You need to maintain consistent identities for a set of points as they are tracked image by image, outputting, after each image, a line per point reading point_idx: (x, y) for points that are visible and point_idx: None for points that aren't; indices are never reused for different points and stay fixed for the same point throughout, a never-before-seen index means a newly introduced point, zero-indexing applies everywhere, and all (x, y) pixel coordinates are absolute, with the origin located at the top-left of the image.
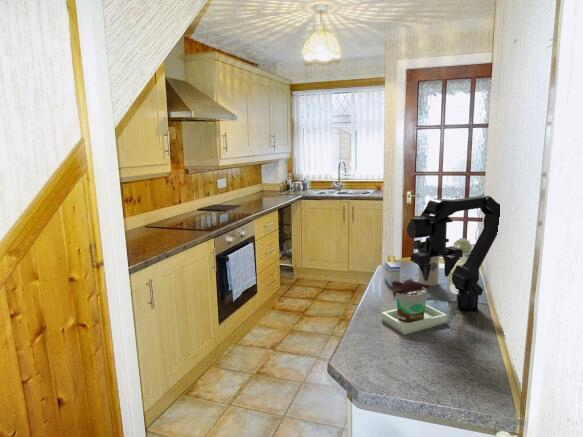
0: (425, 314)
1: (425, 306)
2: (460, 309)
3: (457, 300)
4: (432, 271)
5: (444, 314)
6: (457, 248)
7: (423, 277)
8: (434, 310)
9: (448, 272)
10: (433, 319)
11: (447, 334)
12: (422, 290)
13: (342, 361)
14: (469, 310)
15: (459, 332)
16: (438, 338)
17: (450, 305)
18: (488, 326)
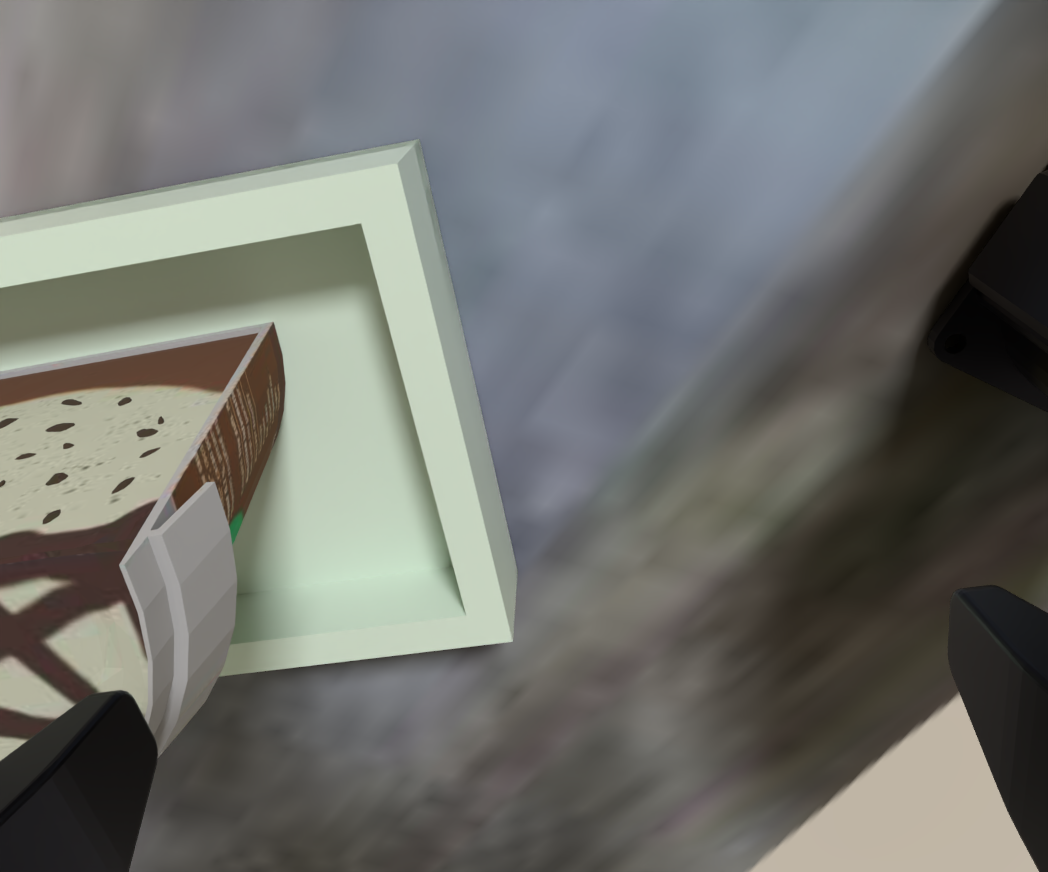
0: (349, 357)
1: (383, 287)
2: (938, 351)
3: (1026, 290)
4: None
5: (485, 623)
6: None
7: (10, 759)
8: (431, 475)
9: (1031, 851)
10: (295, 657)
11: (380, 746)
12: (114, 613)
13: None
14: (1033, 402)
15: (514, 748)
16: (260, 775)
17: (969, 98)
18: (875, 739)
